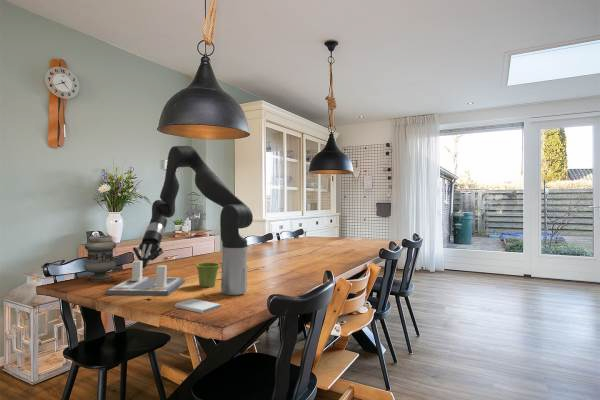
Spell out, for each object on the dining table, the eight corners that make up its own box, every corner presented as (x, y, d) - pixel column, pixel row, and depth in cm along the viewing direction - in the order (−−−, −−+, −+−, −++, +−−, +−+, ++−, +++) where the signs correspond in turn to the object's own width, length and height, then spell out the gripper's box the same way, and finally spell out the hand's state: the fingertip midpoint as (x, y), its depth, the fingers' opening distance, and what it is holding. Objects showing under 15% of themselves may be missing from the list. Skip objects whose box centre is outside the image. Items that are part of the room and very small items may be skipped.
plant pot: (224, 285, 147) (224, 264, 147) (206, 289, 139) (206, 267, 140) (208, 282, 153) (209, 261, 153) (190, 286, 145) (191, 264, 145)
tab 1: (143, 279, 147) (143, 260, 147) (139, 281, 143) (139, 262, 143) (135, 279, 147) (135, 260, 147) (130, 281, 143) (131, 261, 143)
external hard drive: (202, 315, 110) (174, 308, 116) (221, 309, 117) (194, 302, 123) (202, 310, 110) (174, 303, 116) (221, 304, 117) (194, 297, 124)
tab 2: (167, 285, 137) (167, 265, 137) (163, 287, 133) (164, 267, 133) (158, 285, 137) (159, 265, 137) (154, 287, 133) (155, 266, 133)
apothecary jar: (76, 280, 151) (77, 236, 151) (100, 274, 162) (102, 234, 162) (99, 282, 147) (100, 238, 147) (122, 277, 158) (123, 236, 159)
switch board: (184, 282, 151) (185, 277, 151) (168, 295, 130) (168, 289, 130) (131, 281, 150) (131, 276, 150) (105, 294, 129) (106, 288, 129)
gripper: (136, 229, 158) (122, 261, 146) (166, 229, 159) (155, 262, 146) (141, 240, 164) (128, 272, 151) (170, 240, 164) (160, 272, 152)
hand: (141, 267), depth 149 cm, fingers closed
